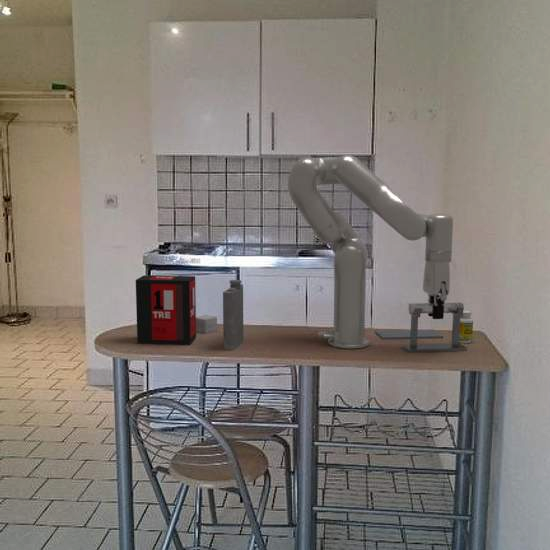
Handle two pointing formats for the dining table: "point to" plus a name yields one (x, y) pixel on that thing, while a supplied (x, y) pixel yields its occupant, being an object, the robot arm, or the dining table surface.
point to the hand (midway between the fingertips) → (435, 316)
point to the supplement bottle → (466, 327)
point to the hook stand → (437, 346)
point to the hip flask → (233, 316)
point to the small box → (206, 324)
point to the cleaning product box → (166, 310)
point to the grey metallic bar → (429, 307)
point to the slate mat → (407, 334)
